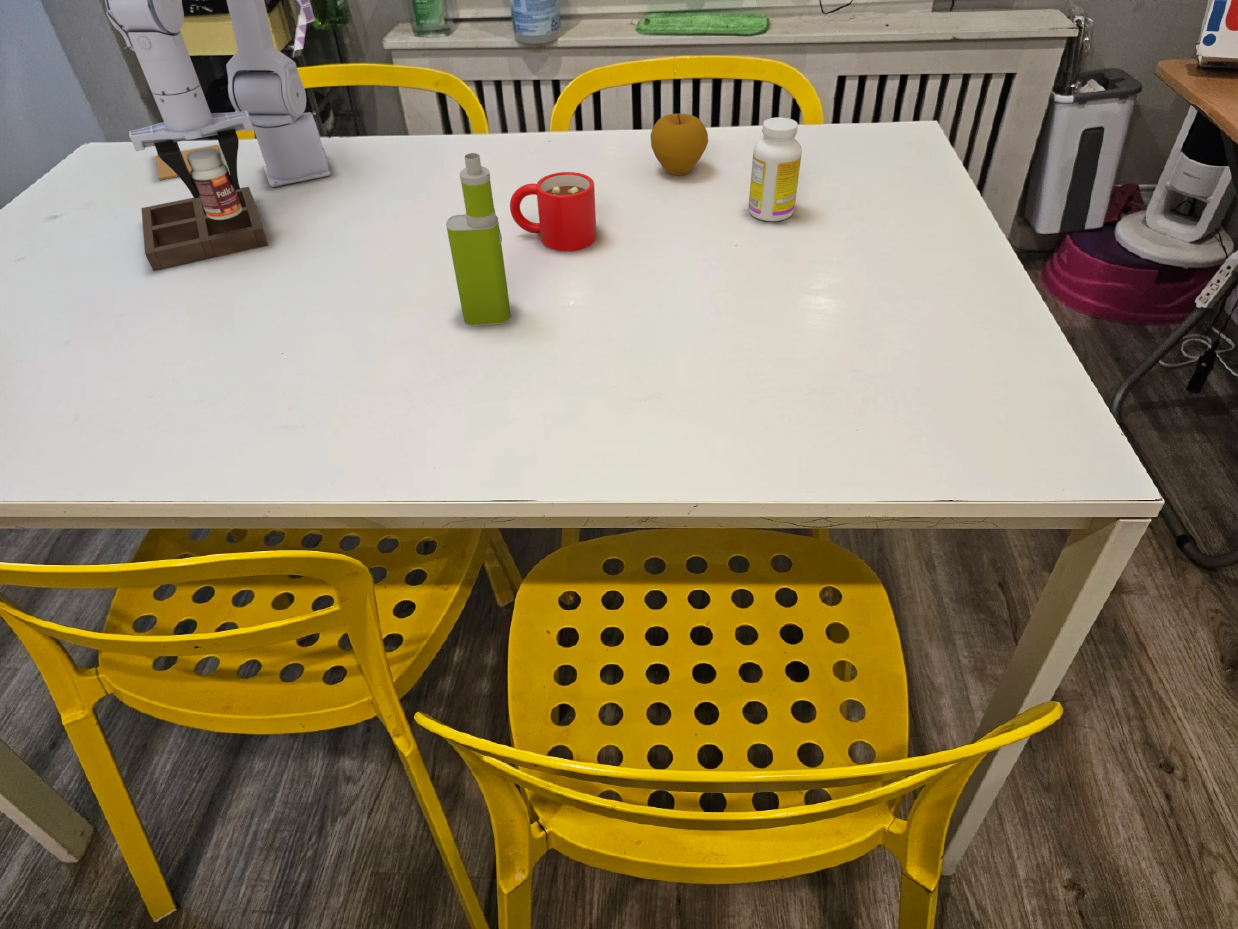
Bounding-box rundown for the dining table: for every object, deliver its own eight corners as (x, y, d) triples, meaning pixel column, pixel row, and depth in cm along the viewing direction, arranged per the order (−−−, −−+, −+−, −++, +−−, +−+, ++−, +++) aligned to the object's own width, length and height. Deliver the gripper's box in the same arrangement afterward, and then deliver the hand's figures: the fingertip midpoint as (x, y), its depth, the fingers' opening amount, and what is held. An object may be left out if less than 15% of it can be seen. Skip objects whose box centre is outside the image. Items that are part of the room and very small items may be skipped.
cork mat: (218, 146, 139) (217, 144, 138) (223, 168, 132) (223, 165, 132) (156, 158, 136) (155, 155, 135) (159, 180, 129) (158, 178, 129)
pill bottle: (231, 222, 109) (208, 162, 103) (200, 219, 110) (175, 159, 104) (249, 206, 112) (228, 147, 107) (219, 204, 113) (196, 145, 107)
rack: (254, 202, 122) (248, 186, 121) (268, 245, 112) (262, 228, 111) (148, 224, 118) (141, 207, 116) (153, 270, 108) (144, 253, 106)
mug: (518, 223, 116) (511, 170, 110) (599, 224, 115) (597, 171, 109) (507, 249, 110) (500, 195, 105) (593, 251, 109) (590, 197, 104)
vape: (512, 323, 97) (490, 161, 83) (462, 326, 96) (432, 165, 83) (512, 306, 99) (491, 147, 86) (464, 309, 99) (435, 151, 85)
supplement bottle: (798, 206, 117) (811, 118, 108) (786, 226, 113) (798, 135, 104) (755, 199, 119) (764, 111, 111) (741, 218, 115) (749, 128, 106)
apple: (703, 158, 131) (706, 102, 124) (709, 182, 124) (713, 123, 118) (648, 160, 130) (648, 104, 124) (652, 184, 124) (652, 125, 118)
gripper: (113, 108, 95) (161, 214, 104) (239, 87, 99) (274, 191, 108) (112, 89, 99) (158, 193, 109) (233, 70, 104) (267, 171, 113)
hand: (216, 191), depth 109 cm, fingers closed on pill bottle, 5 cm apart
